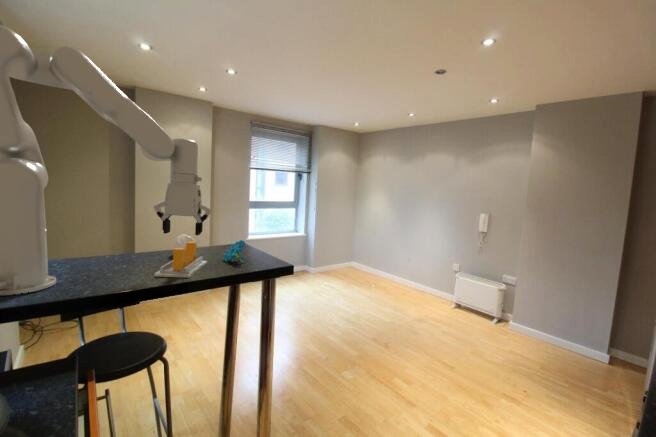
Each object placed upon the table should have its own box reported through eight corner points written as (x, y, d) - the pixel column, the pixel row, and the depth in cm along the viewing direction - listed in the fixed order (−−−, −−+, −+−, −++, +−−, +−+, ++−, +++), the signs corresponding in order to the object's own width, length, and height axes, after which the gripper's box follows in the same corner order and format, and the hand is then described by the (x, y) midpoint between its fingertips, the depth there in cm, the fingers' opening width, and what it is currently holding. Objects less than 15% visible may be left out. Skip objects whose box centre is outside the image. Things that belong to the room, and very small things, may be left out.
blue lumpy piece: (220, 253, 115) (240, 235, 117) (231, 262, 118) (250, 245, 119) (222, 264, 106) (244, 245, 107) (234, 275, 108) (256, 255, 110)
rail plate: (189, 277, 90) (189, 269, 90) (154, 276, 90) (154, 267, 89) (206, 263, 106) (207, 256, 106) (177, 262, 105) (177, 255, 105)
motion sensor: (184, 257, 112) (184, 237, 111) (168, 255, 115) (168, 234, 114) (200, 253, 120) (200, 234, 119) (185, 251, 122) (185, 232, 121)
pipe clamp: (183, 260, 103) (183, 241, 102) (196, 260, 103) (196, 241, 103) (167, 270, 91) (167, 248, 90) (182, 270, 91) (182, 249, 91)
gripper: (215, 181, 99) (213, 233, 101) (160, 177, 98) (159, 230, 99) (208, 181, 92) (206, 237, 93) (148, 177, 90) (148, 234, 92)
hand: (182, 233), depth 96 cm, fingers open, 9 cm apart
